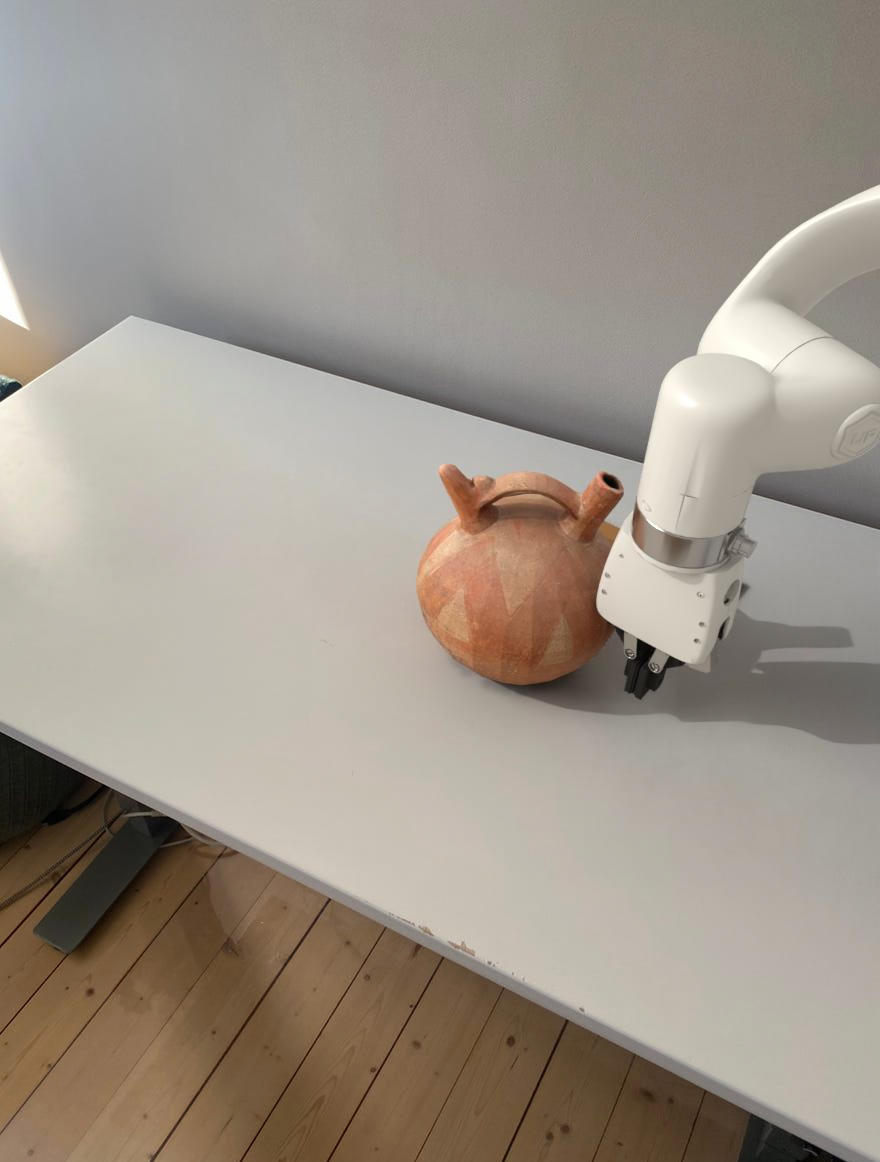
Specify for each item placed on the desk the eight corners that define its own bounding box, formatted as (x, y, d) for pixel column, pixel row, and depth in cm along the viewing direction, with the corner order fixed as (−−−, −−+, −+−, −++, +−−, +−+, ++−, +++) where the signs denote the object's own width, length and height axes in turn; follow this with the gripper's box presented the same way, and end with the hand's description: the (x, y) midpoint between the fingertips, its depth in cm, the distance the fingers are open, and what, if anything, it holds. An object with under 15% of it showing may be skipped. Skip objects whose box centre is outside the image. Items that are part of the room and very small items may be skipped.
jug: (402, 702, 84) (398, 535, 69) (432, 568, 96) (433, 400, 81) (609, 728, 82) (649, 560, 67) (612, 587, 94) (647, 418, 79)
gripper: (805, 541, 66) (740, 703, 79) (623, 460, 73) (591, 622, 86) (756, 599, 62) (696, 758, 75) (569, 507, 69) (545, 669, 82)
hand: (641, 685), depth 81 cm, fingers closed
